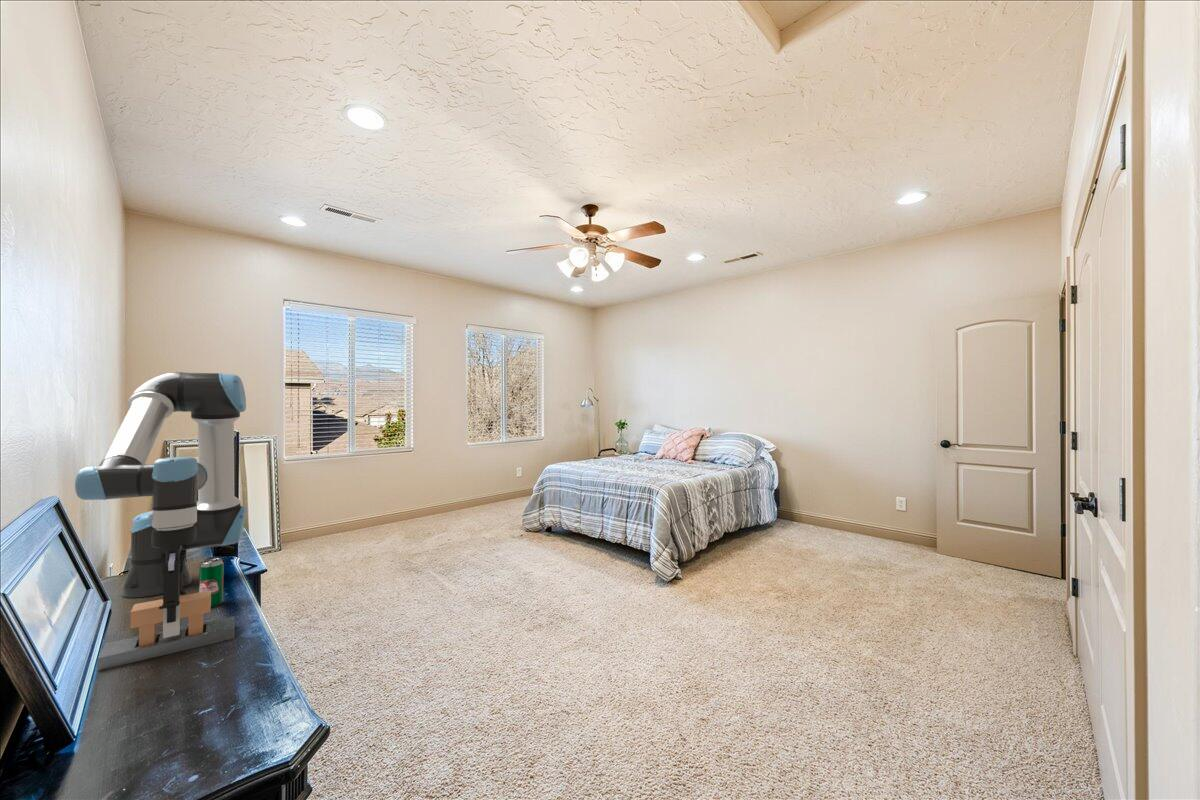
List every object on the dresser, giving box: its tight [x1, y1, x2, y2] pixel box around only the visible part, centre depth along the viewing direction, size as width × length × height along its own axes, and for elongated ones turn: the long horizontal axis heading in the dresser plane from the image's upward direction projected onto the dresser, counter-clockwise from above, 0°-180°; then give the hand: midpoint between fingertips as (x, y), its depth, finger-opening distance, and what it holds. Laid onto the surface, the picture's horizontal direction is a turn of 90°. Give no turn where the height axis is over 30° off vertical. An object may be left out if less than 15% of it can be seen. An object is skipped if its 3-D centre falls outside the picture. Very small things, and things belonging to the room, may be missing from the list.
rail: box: [96, 615, 236, 672], centre depth 106 cm, size 8×22×2 cm, turn 128°
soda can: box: [198, 557, 225, 608], centre depth 128 cm, size 5×5×12 cm
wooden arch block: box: [129, 590, 212, 647], centre depth 106 cm, size 5×13×9 cm, turn 128°
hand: (172, 630), depth 106 cm, fingers closed on wooden arch block, 5 cm apart
